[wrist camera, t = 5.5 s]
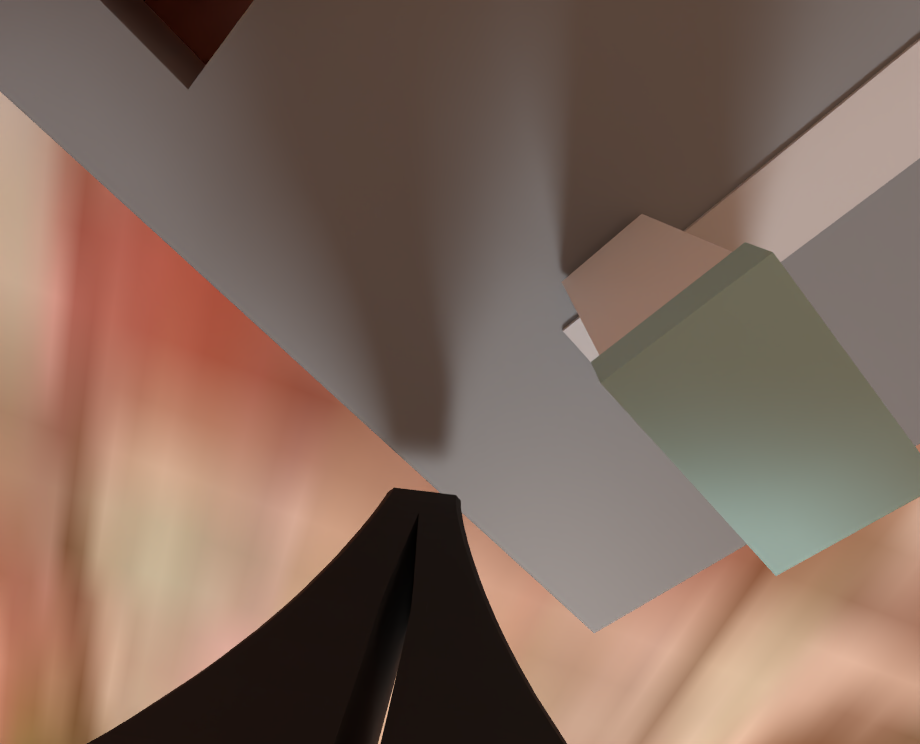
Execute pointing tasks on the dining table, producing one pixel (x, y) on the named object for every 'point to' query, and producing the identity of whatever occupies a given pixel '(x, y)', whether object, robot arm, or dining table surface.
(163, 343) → the dining table surface
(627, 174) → the control panel
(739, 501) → the pale green slider knob
